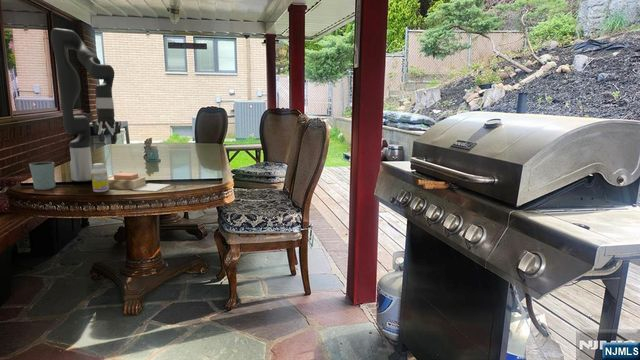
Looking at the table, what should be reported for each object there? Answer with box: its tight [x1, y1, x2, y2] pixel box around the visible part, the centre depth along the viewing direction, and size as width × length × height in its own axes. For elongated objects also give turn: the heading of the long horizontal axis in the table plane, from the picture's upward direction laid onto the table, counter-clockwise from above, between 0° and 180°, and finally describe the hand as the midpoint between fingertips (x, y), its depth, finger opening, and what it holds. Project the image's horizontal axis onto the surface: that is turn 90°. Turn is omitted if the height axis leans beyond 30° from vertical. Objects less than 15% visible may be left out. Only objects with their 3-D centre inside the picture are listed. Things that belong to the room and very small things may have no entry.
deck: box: [107, 174, 147, 190], centre depth 208 cm, size 20×10×4 cm, turn 81°
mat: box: [132, 183, 171, 192], centre depth 206 cm, size 12×14×1 cm
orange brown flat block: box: [113, 172, 139, 180], centre depth 207 cm, size 9×6×2 cm, turn 81°
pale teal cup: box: [29, 161, 56, 191], centre depth 202 cm, size 10×10×12 cm
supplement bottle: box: [91, 162, 110, 193], centre depth 197 cm, size 7×7×13 cm
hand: (108, 142), depth 205 cm, fingers open, 5 cm apart
